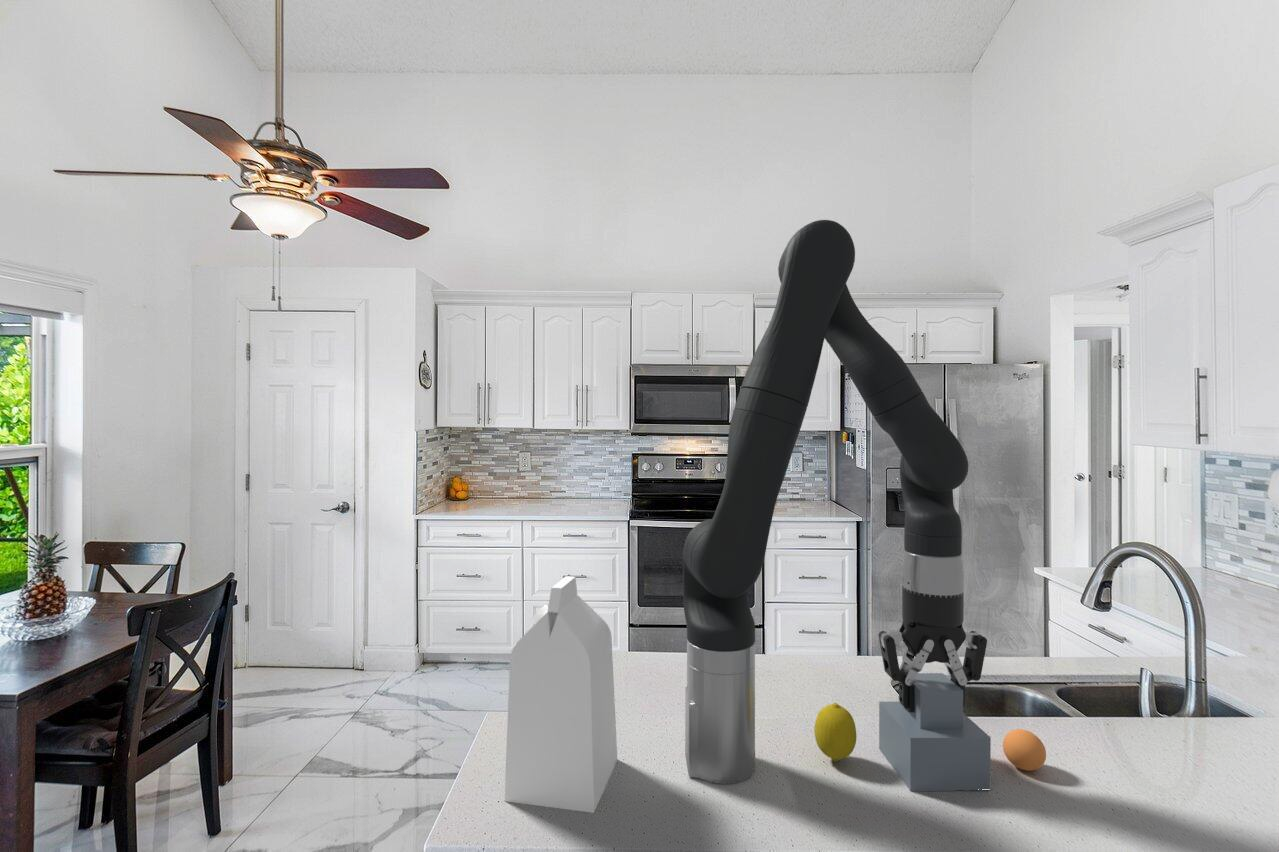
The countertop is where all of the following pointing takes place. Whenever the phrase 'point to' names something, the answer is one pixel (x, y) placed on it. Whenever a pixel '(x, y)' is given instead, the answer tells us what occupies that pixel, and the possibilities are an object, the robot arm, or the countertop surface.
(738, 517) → the robot arm
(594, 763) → the milk
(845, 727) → the lemon
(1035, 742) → the brown egg
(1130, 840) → the countertop surface
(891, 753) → the gray stepped step block
